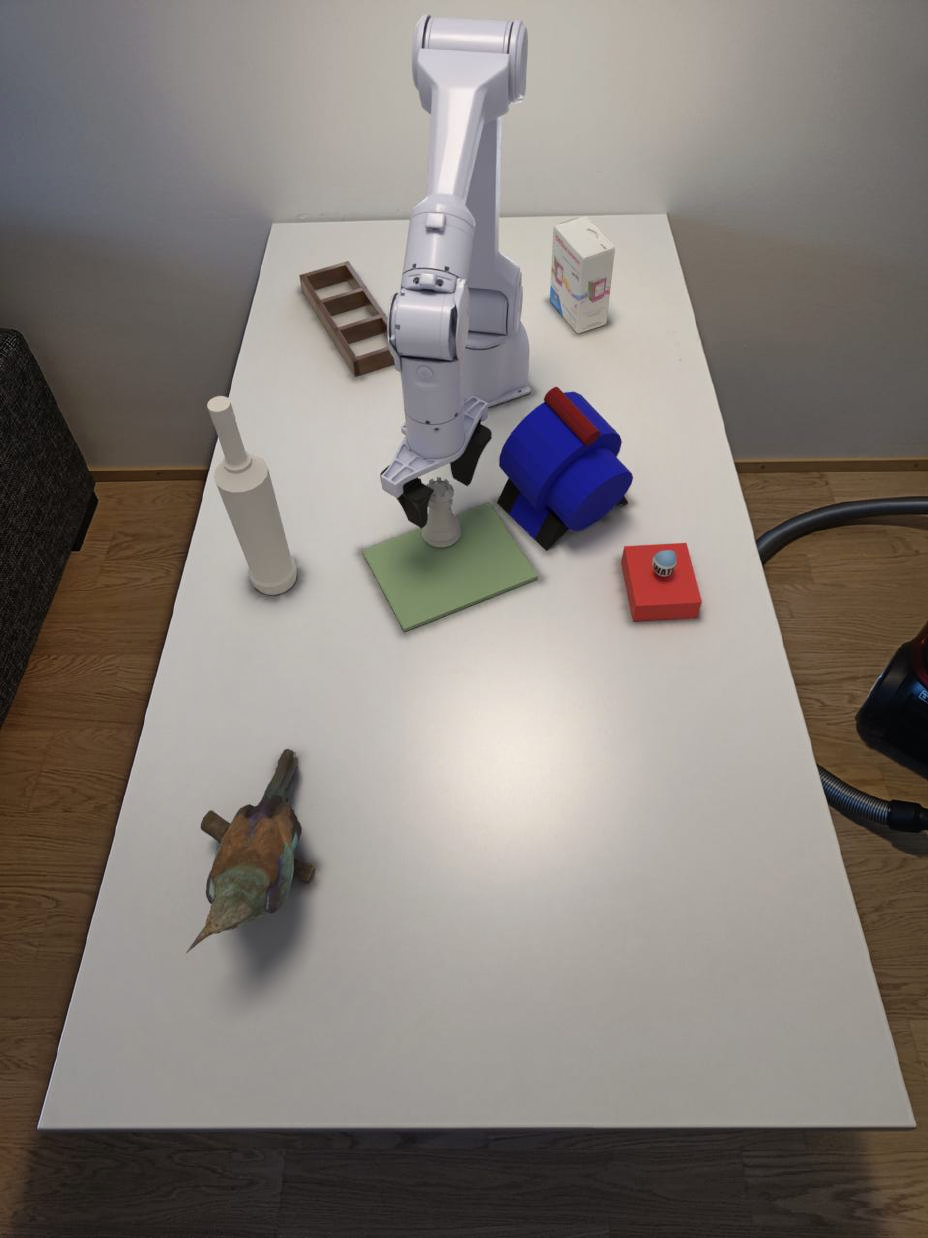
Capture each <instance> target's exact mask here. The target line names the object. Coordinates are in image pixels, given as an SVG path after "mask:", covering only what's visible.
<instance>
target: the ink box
mask: <svg viewBox="0 0 928 1238" xmlns="http://www.w3.org/2000/svg"><path fill="white" fill-rule="evenodd" d="M551 246H552V249H551V268H550V269H551V270H550V288H549V302H550V303H551V304H552V306H553V307H554V308H555V309H556V310H557V312H559V314H560V315H561V316H562V317H563V318H564V320H565V321H566V322H567V324H569V325H570V327H571V328H572V330H574V332H575V333H576V334H581V333H585V332H587V331H590V330H595V329H596V328H600V327H602V326H605V325H607V323H608V322H607V321H608V315H609V314H608V313H609V305H610V296H611V288H612V277H613V269H614V261H615V253H616V248H615V245H614V243H612V242H611V241H610V240H609V239H608V238H607V236H606V235H604V234H603V232H602V231H601V230H600V229H599V228H598V226H596V225H595V224H594V223H593V221H592V220H591V219H590V218H589V217H588V216H584V215H581V216H577V217H573V218H570V219H568V220H565V221H561V222H560V223H557V224H554V225H553V231H552V245H551Z"/></svg>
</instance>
